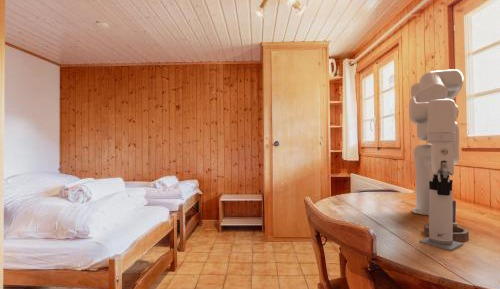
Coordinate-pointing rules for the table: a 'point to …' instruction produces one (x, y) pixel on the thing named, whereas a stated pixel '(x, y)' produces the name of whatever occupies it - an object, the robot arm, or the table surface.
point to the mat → (446, 247)
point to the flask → (454, 210)
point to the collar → (458, 232)
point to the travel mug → (440, 215)
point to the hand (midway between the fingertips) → (440, 192)
